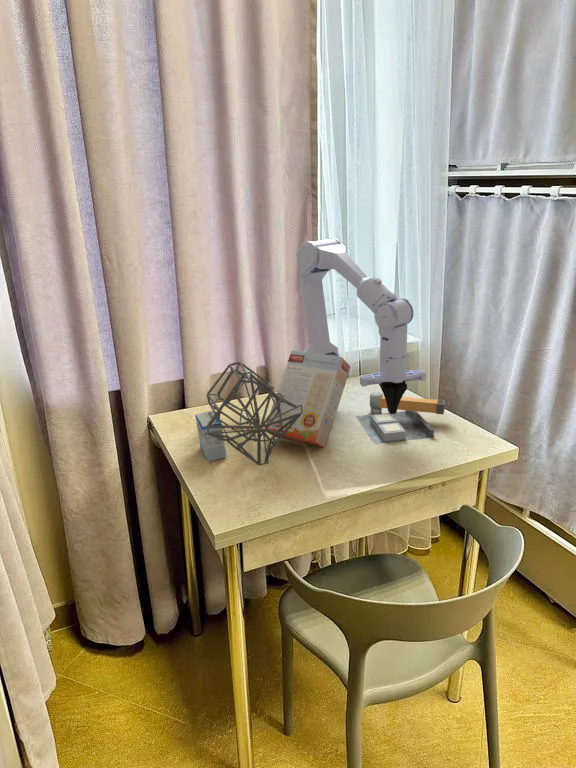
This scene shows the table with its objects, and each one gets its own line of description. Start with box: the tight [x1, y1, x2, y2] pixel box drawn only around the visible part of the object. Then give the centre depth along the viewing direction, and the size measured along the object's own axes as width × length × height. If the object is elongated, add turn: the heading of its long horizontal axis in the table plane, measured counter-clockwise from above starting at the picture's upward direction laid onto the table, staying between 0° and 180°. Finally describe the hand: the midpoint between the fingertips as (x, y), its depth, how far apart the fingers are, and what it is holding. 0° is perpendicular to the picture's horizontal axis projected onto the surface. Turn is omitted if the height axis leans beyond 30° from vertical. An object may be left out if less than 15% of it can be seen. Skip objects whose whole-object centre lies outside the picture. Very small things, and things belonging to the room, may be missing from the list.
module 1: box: [370, 412, 397, 431], centre depth 132 cm, size 5×5×2 cm
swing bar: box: [369, 391, 446, 415], centre depth 134 cm, size 18×3×3 cm, turn 69°
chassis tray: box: [355, 407, 435, 445], centre depth 132 cm, size 14×17×4 cm
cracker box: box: [264, 349, 352, 449], centre depth 127 cm, size 14×6×21 cm
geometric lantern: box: [206, 361, 303, 466], centre depth 124 cm, size 16×16×35 cm
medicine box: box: [195, 410, 227, 463], centre depth 123 cm, size 8×4×9 cm, turn 21°
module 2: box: [378, 423, 406, 442], centre depth 126 cm, size 5×5×2 cm
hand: (392, 412), depth 125 cm, fingers closed
